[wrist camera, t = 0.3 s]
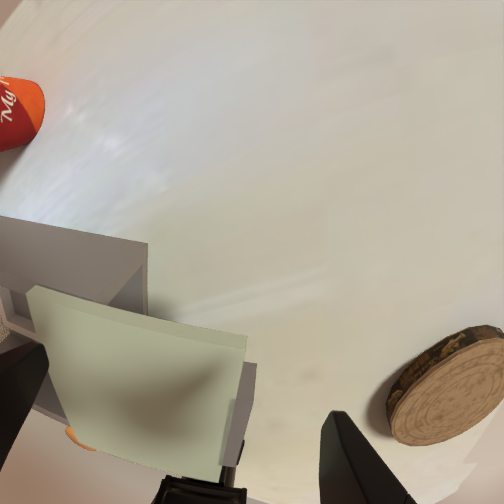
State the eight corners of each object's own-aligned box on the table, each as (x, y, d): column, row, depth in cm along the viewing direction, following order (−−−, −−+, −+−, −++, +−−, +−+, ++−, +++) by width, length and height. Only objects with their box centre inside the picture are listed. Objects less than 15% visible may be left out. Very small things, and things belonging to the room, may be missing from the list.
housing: (151, 384, 27) (125, 447, 20) (17, 336, 28) (-20, 377, 20) (147, 243, 22) (93, 299, 14) (-9, 214, 22) (-66, 244, 14)
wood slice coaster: (486, 293, 22) (503, 310, 19) (517, 366, 25) (527, 381, 22) (356, 396, 27) (361, 419, 24) (419, 440, 30) (424, 457, 27)
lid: (233, 455, 22) (229, 484, 19) (91, 418, 22) (78, 442, 19) (267, 315, 16) (266, 353, 13) (54, 269, 16) (25, 293, 13)
